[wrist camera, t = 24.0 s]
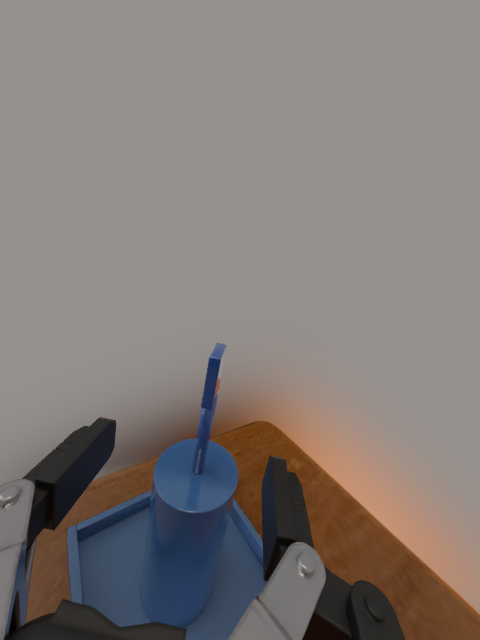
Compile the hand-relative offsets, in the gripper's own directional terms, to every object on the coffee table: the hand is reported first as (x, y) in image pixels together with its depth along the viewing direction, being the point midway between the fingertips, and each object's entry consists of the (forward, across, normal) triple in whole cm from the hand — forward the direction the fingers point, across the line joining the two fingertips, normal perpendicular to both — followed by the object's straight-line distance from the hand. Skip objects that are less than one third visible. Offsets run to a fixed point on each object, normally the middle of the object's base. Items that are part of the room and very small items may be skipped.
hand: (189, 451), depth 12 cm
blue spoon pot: (+4, 0, +16) cm, 17 cm away
